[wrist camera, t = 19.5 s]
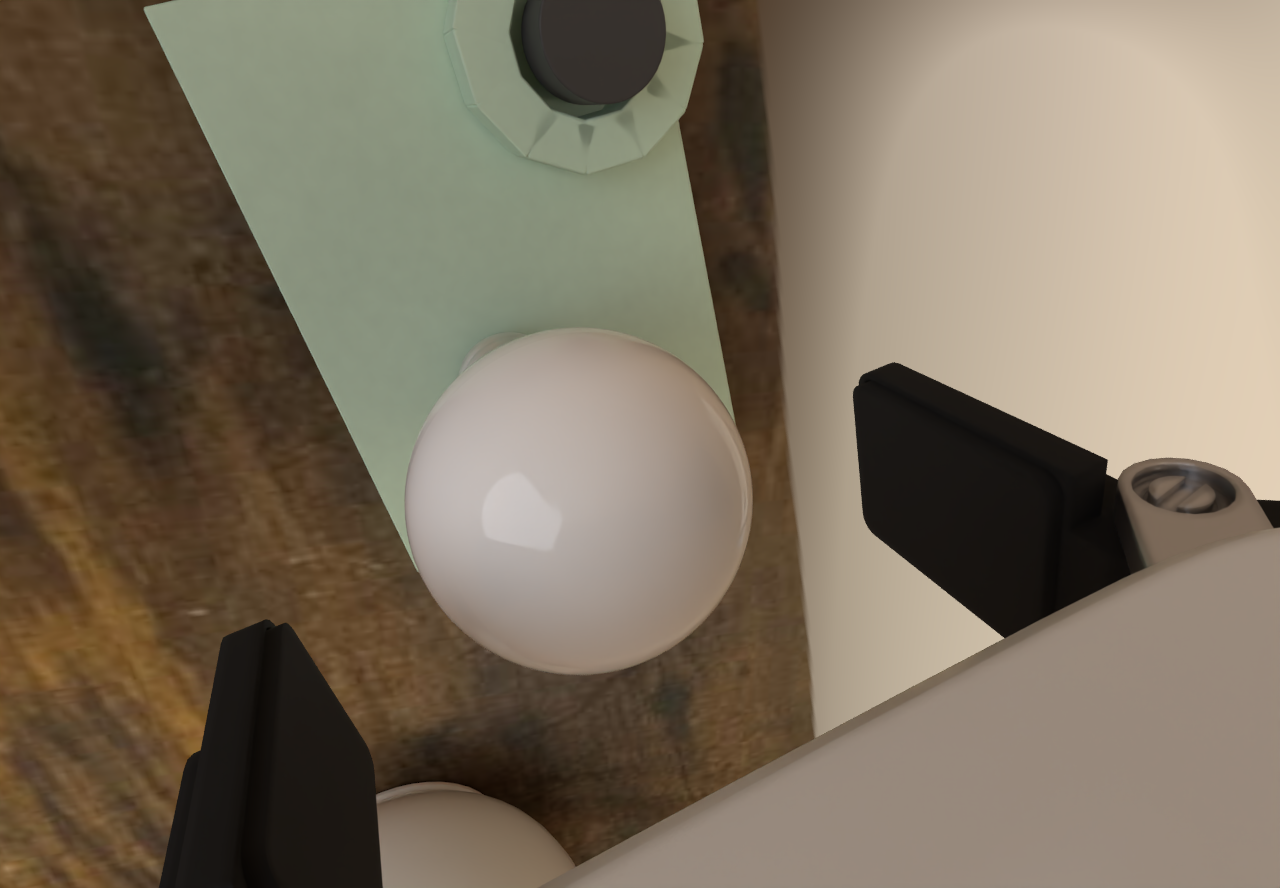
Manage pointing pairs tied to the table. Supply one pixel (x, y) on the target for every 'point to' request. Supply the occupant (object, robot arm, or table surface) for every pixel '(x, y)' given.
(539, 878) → the lidded bowl
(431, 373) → the green dial base
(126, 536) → the table surface
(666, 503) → the lightbulb
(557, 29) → the tare button
